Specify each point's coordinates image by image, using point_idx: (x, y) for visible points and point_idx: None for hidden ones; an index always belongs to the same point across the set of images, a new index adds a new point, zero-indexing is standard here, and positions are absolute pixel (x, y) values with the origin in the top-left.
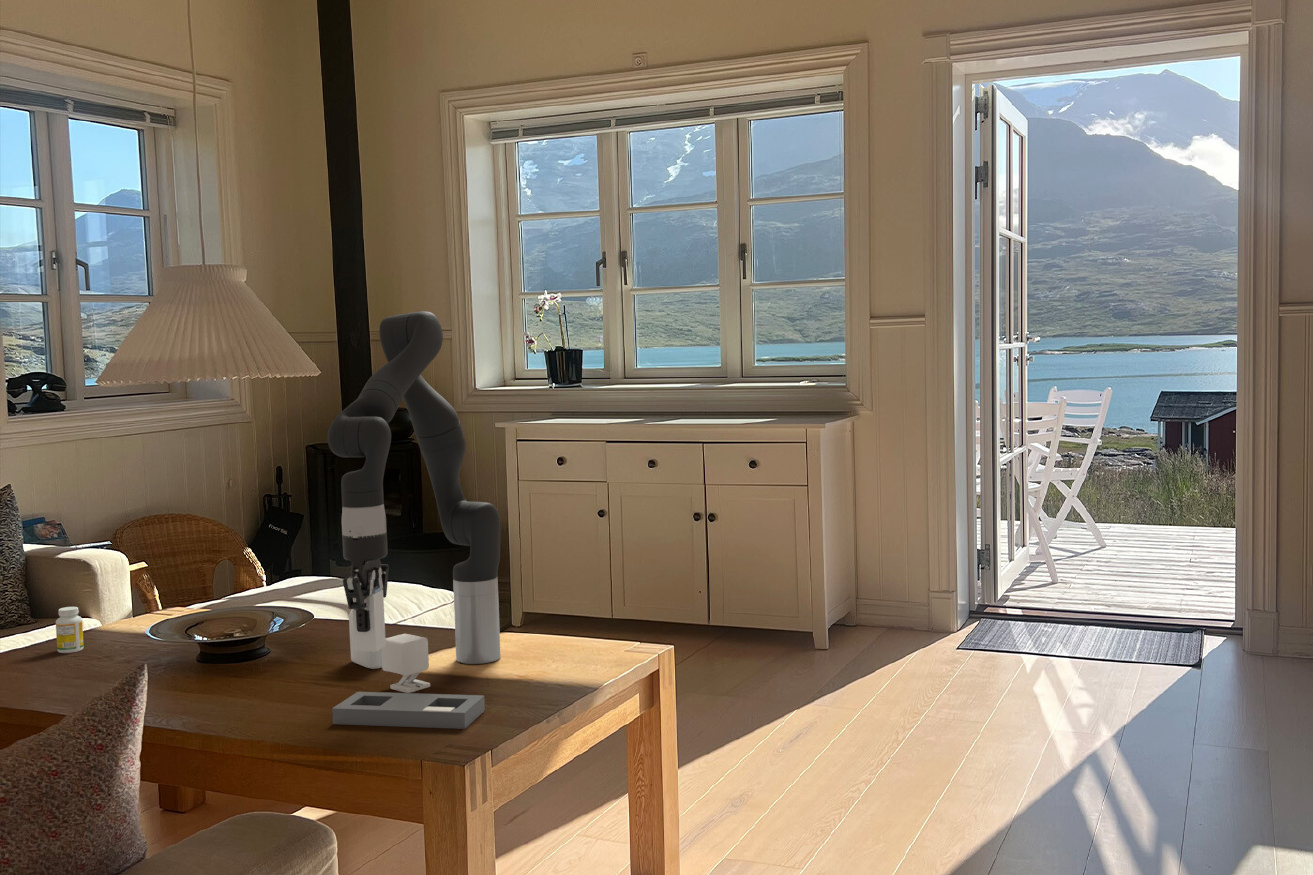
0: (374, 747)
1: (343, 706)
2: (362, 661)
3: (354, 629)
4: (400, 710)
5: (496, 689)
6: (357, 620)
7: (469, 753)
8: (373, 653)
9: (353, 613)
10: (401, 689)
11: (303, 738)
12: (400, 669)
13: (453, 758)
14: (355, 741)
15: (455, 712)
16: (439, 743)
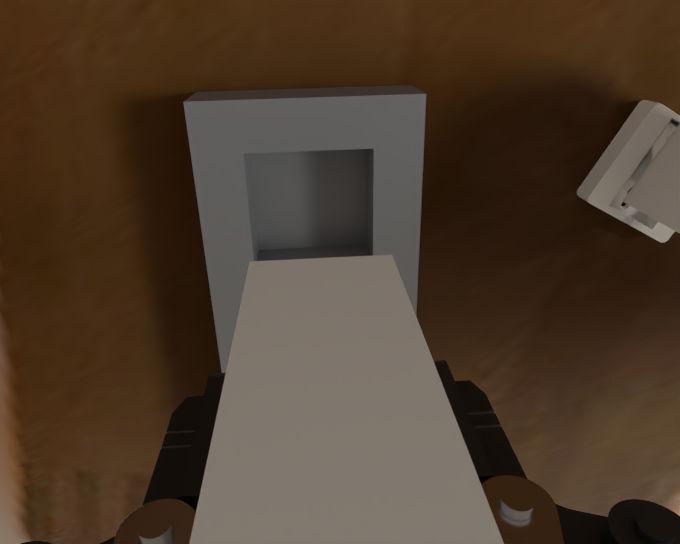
0: (59, 321)
1: (218, 137)
2: None
3: (234, 340)
4: (221, 358)
5: (624, 415)
6: (160, 456)
7: (105, 533)
8: None
9: (216, 430)
10: (606, 166)
11: (49, 40)
12: (640, 195)
13: (61, 518)
14: (87, 243)
15: None
16: (148, 455)
